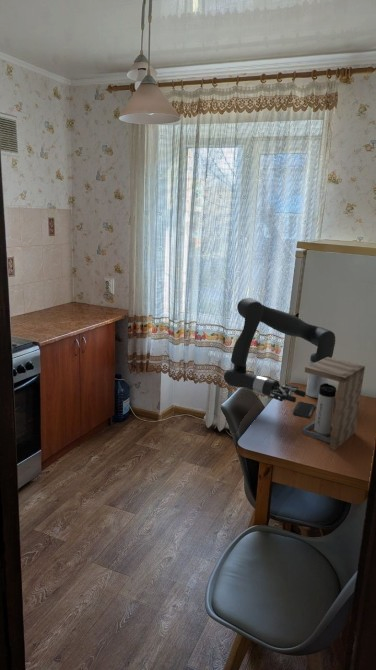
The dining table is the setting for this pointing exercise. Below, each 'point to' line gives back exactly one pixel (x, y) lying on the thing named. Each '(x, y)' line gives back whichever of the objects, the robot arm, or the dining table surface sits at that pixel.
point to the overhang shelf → (342, 395)
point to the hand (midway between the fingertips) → (300, 397)
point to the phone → (304, 409)
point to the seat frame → (315, 435)
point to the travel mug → (325, 409)
